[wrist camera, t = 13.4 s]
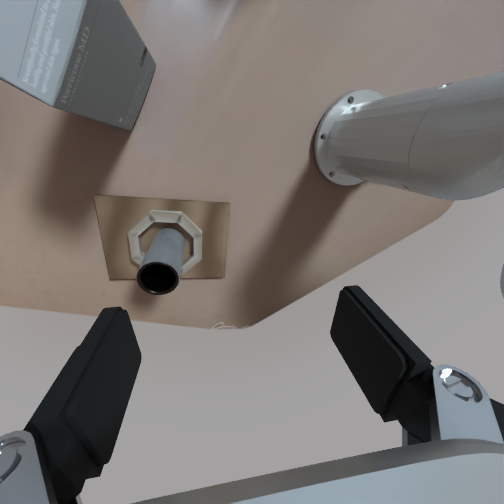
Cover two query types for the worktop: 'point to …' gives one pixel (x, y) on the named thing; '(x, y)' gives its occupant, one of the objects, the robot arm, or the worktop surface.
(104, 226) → the tan board with ring
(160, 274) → the grey tube
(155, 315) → the worktop surface
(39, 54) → the skincare box
